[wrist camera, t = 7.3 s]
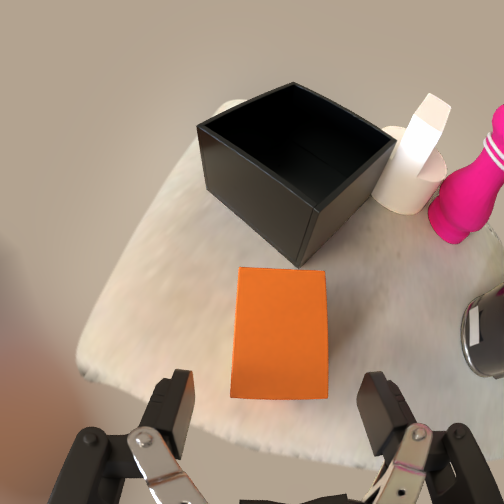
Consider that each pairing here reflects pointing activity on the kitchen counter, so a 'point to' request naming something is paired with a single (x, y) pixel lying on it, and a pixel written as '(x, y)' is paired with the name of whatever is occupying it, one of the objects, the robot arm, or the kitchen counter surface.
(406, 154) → the cylinder with rectangular tab
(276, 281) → the orange rectangular block
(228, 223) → the kitchen counter surface
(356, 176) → the bin
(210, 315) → the kitchen counter surface
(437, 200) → the pepper mill
